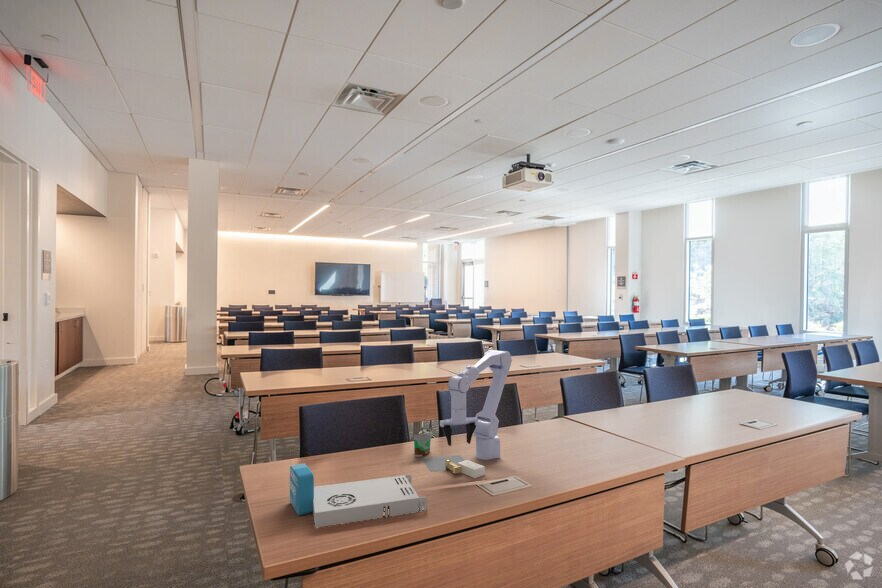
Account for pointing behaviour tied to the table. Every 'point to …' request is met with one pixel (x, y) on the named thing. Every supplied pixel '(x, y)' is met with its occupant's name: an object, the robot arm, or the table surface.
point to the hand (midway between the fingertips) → (459, 443)
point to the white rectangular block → (472, 468)
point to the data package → (301, 488)
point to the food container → (422, 442)
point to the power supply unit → (365, 500)
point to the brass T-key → (452, 466)
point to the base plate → (441, 462)
